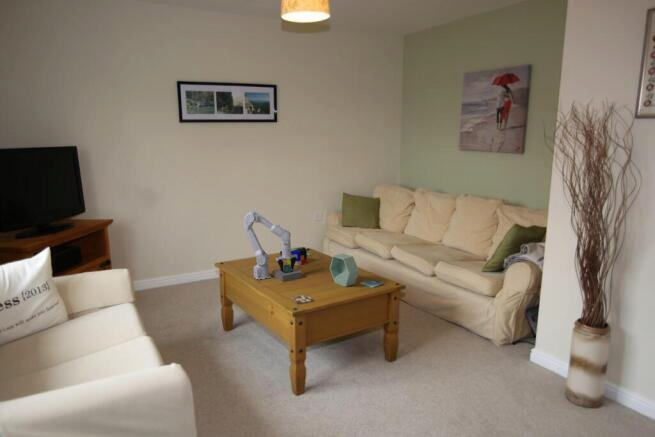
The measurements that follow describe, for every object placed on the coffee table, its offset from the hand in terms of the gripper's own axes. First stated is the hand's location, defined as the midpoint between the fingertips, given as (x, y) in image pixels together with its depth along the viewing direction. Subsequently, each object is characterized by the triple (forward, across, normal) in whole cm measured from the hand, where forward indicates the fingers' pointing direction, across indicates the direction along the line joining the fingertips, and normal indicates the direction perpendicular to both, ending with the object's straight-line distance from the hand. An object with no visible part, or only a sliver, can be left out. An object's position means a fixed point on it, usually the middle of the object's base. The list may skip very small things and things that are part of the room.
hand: (287, 269), depth 306 cm
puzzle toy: (+5, +21, +25) cm, 33 cm away
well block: (+5, 0, 0) cm, 5 cm away
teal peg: (+4, 0, 0) cm, 4 cm away
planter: (+5, +23, -32) cm, 40 cm away
